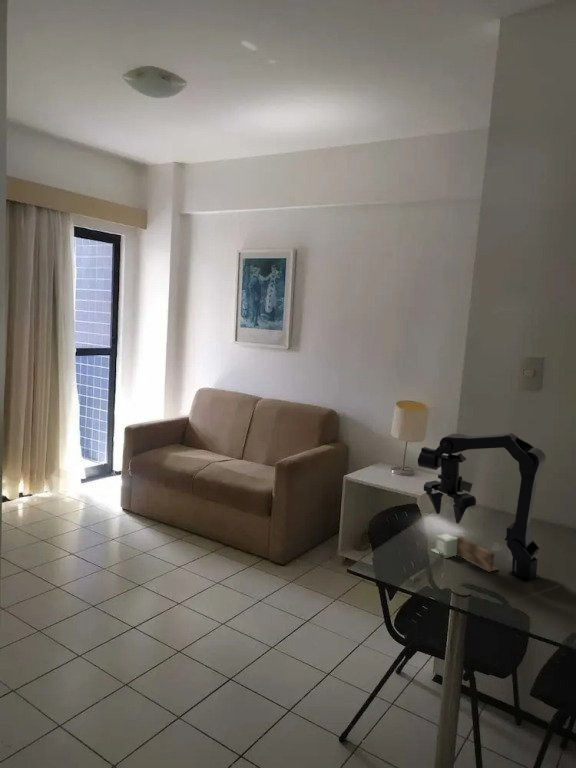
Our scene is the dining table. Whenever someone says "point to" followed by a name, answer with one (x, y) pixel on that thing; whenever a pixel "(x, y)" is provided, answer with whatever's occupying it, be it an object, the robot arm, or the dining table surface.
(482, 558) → the walnut screen
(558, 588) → the dining table surface
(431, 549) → the sage pad
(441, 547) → the sage block
